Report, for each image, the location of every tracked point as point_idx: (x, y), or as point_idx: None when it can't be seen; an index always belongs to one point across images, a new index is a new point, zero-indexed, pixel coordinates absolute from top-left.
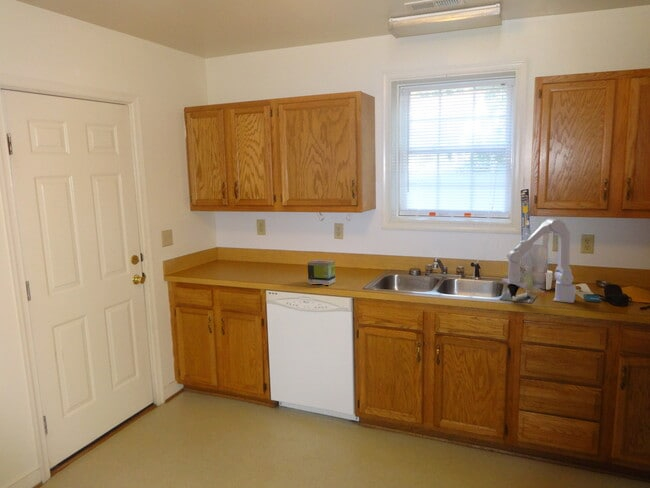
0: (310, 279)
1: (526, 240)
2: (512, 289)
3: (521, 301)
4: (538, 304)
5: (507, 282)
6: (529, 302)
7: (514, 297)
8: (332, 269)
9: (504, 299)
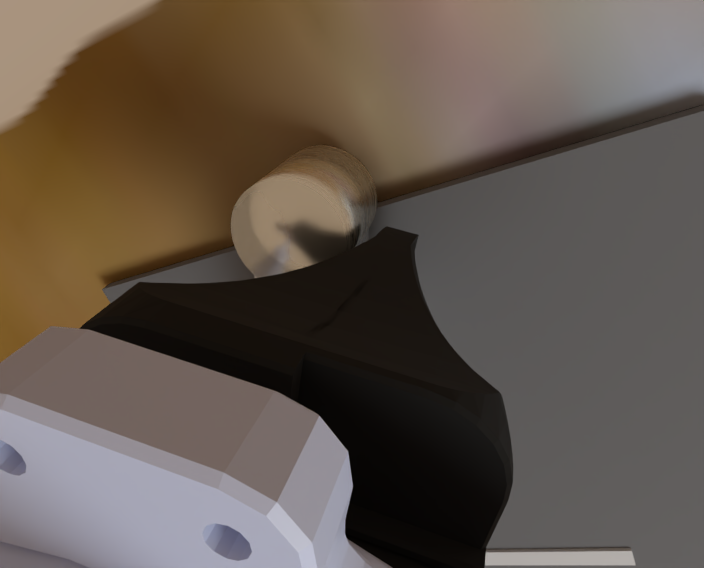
0: None
1: None
2: (234, 290)
3: (238, 257)
4: (37, 299)
5: (233, 444)
6: (127, 283)
7: (266, 176)
8: None
9: (584, 160)
